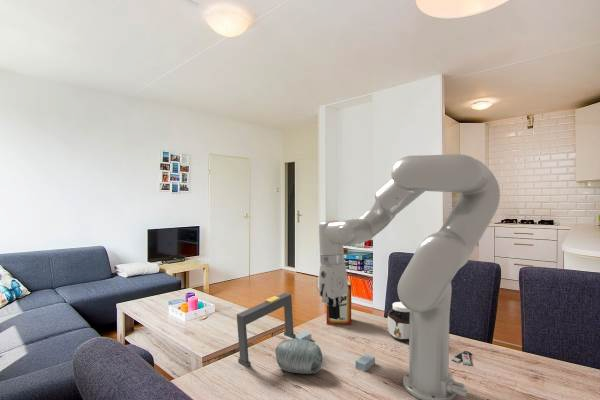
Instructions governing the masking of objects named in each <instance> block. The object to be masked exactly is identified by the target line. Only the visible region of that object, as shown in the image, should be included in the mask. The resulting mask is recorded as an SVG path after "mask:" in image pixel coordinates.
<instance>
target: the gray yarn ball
mask: <svg viewBox="0 0 600 400" xmlns="http://www.w3.org/2000/svg"><path fill="white" fill-rule="evenodd" d="M274 354H275V360H276V362H277V363H276V364H278V366H279V367H280V368H281V370H283V371H285V372H289V373H293V374H302V375H303V374H305V375H307V374H308V375H311V374H316V373H318V372H319V371H320V370H321V368H322V366H323V353H322V350H321V348H320V346H319V345H318V344H317V343H315V342H314V341H311V340H309V341H307V340H301V339H293V338H290V339H284V340H282V341H281V342H279V343H278V344H277V345H276V346H275V353H274Z"/></svg>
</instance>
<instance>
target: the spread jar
mask: <svg viewBox="0 0 600 400" xmlns="http://www.w3.org/2000/svg"><path fill="white" fill-rule="evenodd" d="M409 325H410V310H409V309H407V308H406V307H405V306H404V305H403V304H402V303H401V301H395V302H393V303H392V309H390V311H389V312H388V314H387V331H388V334H389V335H390V337H391V338H392V339H394V341H397V342H401V343H409Z"/></svg>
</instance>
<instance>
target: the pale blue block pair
mask: <svg viewBox="0 0 600 400" xmlns="http://www.w3.org/2000/svg"><path fill="white" fill-rule="evenodd" d="M294 339H301V340H307V341H311V340H312V333H311V332H308V331H302V332H299V333H298V334H296V337H295V338H294ZM375 364H376V356H374V355H372V354H369V353H364V354H363V355H361V357H359V358H358V359H356V360H355V369H357V370H359V371H362V372H366V371H368V370H369V369H370V368H371V367H373V366H374V365H375Z"/></svg>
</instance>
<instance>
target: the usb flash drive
mask: <svg viewBox="0 0 600 400" xmlns="http://www.w3.org/2000/svg"><path fill="white" fill-rule="evenodd" d="M470 355H471V356H473V354H472V352H470V351H467V350H464V351H461V352H460V353H459V354H457V355H455V356H454V357H453V358H451V361H454V362H456V363H458V364H459V363H460V361H461V362H463V363H462V365H463V366H467V365H468V367H471V366H472V364H471V359H470V357H471V356H470Z"/></svg>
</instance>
